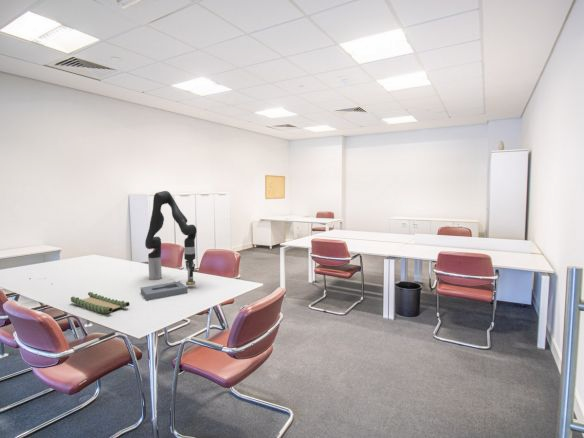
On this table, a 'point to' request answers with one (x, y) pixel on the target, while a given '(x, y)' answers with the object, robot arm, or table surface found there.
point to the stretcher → (99, 303)
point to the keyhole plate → (163, 290)
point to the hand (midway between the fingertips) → (190, 276)
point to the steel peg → (190, 279)
